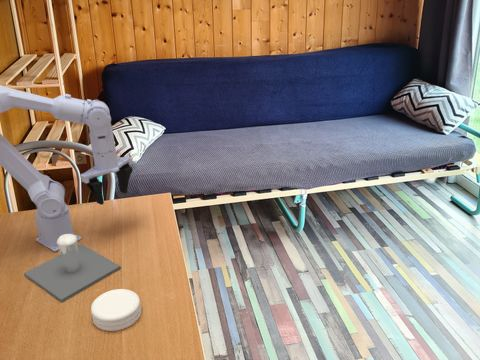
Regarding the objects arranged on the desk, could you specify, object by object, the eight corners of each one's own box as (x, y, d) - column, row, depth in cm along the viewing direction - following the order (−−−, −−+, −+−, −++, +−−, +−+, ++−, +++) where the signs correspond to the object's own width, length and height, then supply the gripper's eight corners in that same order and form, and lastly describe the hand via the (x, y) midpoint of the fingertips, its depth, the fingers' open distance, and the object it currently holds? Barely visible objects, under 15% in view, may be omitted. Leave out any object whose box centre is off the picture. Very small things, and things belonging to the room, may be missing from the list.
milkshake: (82, 274, 118) (75, 238, 114) (59, 274, 119) (51, 238, 114) (88, 263, 122) (82, 228, 118) (67, 263, 123) (59, 227, 118)
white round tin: (121, 295, 113) (119, 282, 111) (151, 313, 107) (149, 299, 105) (83, 318, 106) (80, 305, 104) (112, 339, 100) (110, 325, 98)
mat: (24, 275, 120) (23, 272, 120) (82, 246, 131) (81, 244, 131) (61, 302, 111) (61, 299, 110) (120, 268, 121) (120, 266, 121)
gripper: (88, 162, 120) (98, 212, 126) (136, 144, 130) (143, 191, 135) (72, 156, 124) (82, 205, 130) (119, 138, 134) (126, 184, 140)
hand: (112, 197), depth 133 cm, fingers open, 7 cm apart
